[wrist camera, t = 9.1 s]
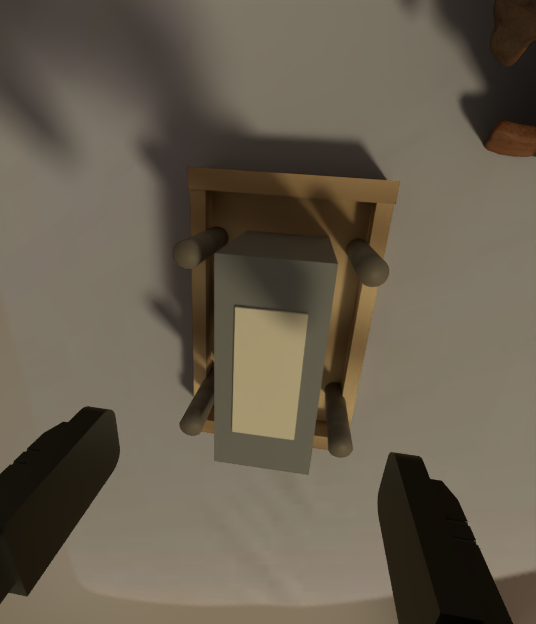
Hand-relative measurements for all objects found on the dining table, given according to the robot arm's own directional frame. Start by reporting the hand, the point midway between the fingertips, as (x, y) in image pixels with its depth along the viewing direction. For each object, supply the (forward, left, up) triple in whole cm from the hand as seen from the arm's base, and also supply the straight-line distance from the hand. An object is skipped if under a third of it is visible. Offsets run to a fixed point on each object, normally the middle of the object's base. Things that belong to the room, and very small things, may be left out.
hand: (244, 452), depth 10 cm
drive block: (0, 0, -11) cm, 11 cm away
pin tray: (0, 0, -12) cm, 12 cm away
